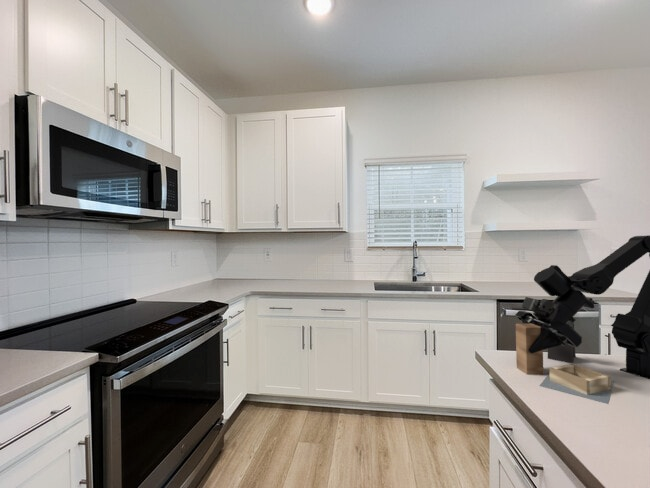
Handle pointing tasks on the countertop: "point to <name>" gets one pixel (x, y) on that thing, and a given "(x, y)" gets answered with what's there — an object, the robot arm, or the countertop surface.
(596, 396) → the slate board
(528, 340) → the walnut block
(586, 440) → the countertop surface
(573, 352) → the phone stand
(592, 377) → the maple socket
